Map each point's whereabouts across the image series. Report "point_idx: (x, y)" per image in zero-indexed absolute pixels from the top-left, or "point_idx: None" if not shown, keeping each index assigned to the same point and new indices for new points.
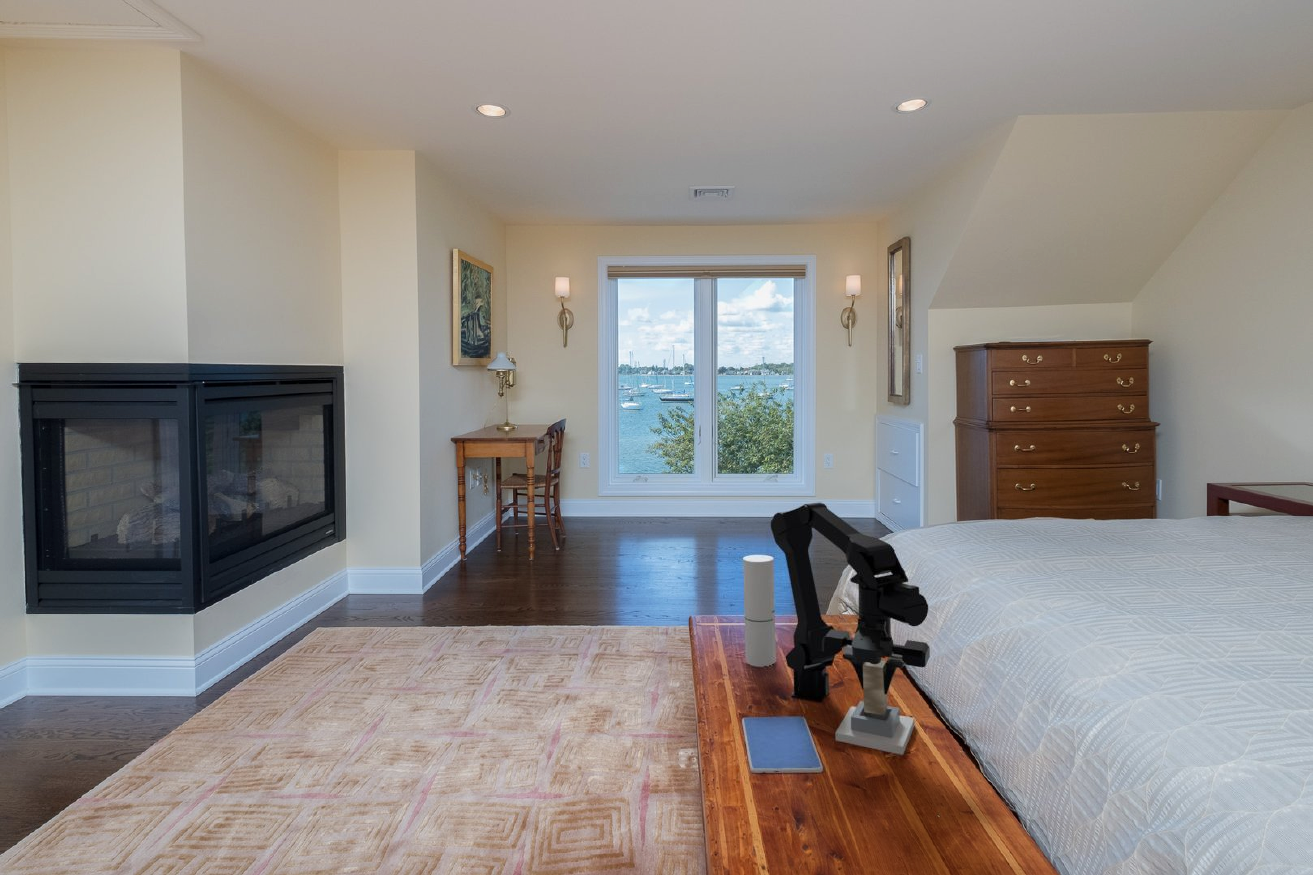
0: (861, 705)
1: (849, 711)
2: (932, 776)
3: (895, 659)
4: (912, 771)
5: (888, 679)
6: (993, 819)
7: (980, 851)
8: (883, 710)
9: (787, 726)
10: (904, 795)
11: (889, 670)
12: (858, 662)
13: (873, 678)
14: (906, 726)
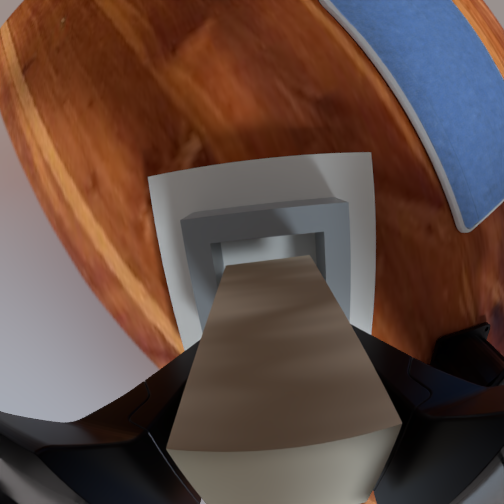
0: None
1: (369, 314)
2: (78, 123)
3: (22, 495)
4: (116, 111)
5: (160, 381)
6: (5, 80)
7: (26, 9)
8: (225, 273)
9: (478, 158)
10: (116, 19)
11: (112, 428)
12: (464, 414)
13: (272, 358)
14: (185, 309)
